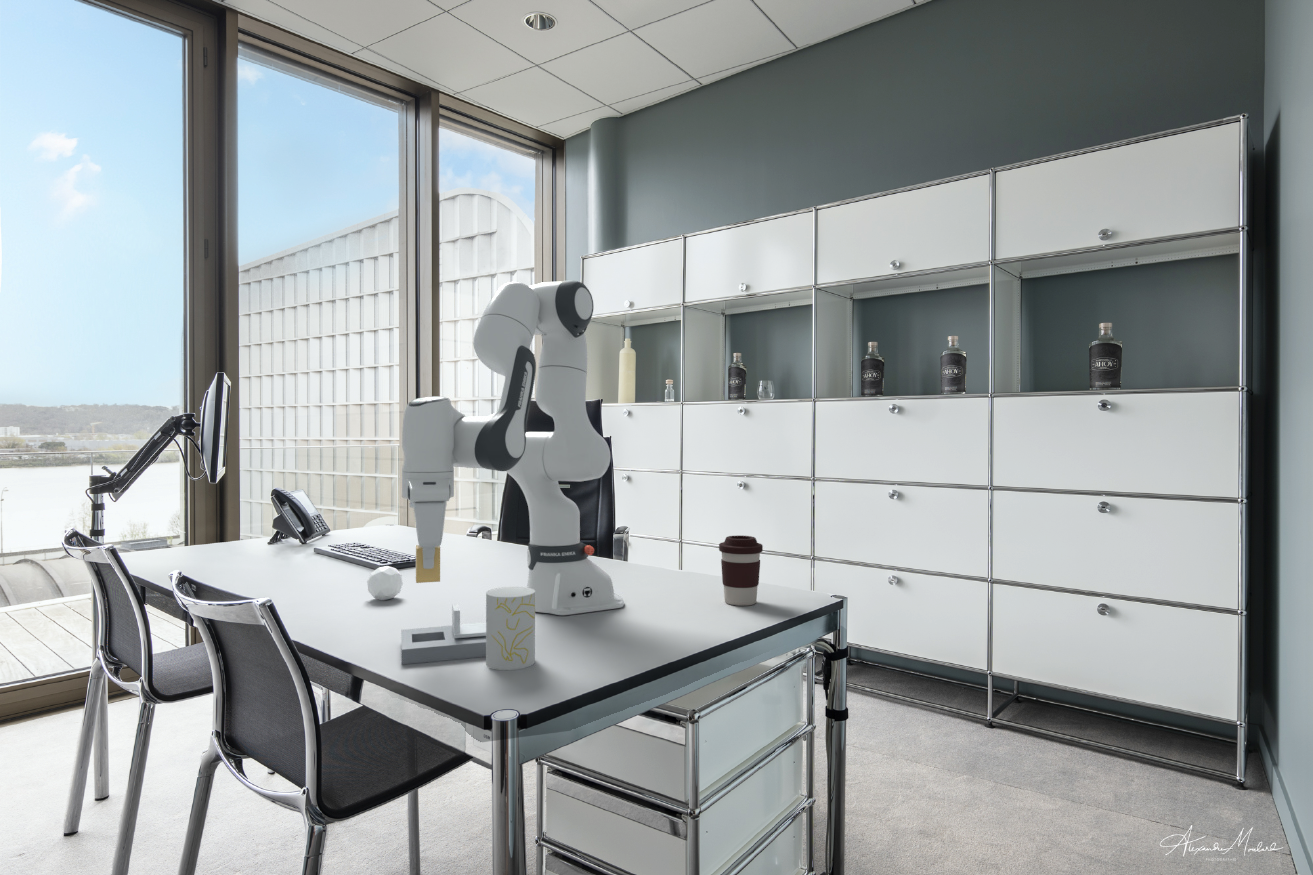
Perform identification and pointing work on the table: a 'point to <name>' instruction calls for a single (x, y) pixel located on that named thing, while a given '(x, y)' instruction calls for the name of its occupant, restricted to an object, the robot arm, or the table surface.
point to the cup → (510, 628)
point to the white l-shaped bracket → (465, 626)
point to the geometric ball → (385, 583)
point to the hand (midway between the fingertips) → (427, 565)
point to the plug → (427, 574)
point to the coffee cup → (740, 569)
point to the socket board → (439, 645)
